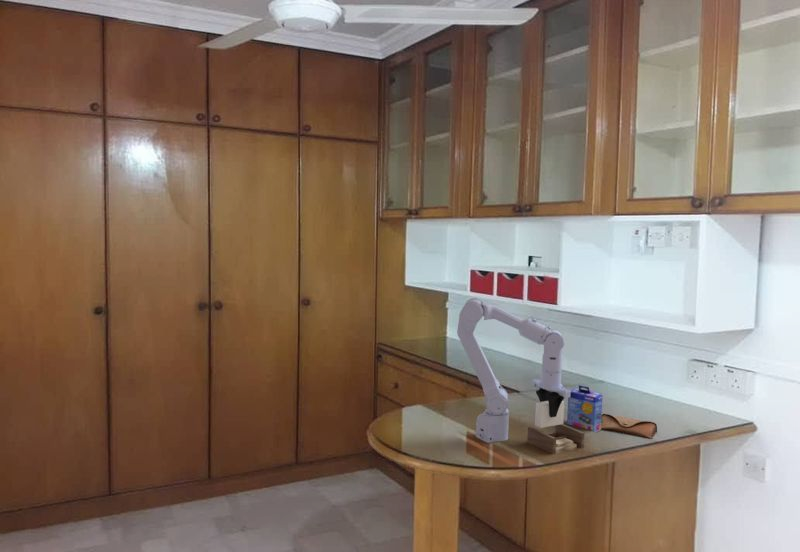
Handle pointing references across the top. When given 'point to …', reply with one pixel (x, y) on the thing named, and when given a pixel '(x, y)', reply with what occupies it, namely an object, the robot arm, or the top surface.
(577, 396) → the ink cartridge box
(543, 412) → the board
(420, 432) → the top surface
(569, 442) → the offcut upper
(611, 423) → the sunglasses case
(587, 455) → the top surface
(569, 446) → the offcut lower
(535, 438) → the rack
